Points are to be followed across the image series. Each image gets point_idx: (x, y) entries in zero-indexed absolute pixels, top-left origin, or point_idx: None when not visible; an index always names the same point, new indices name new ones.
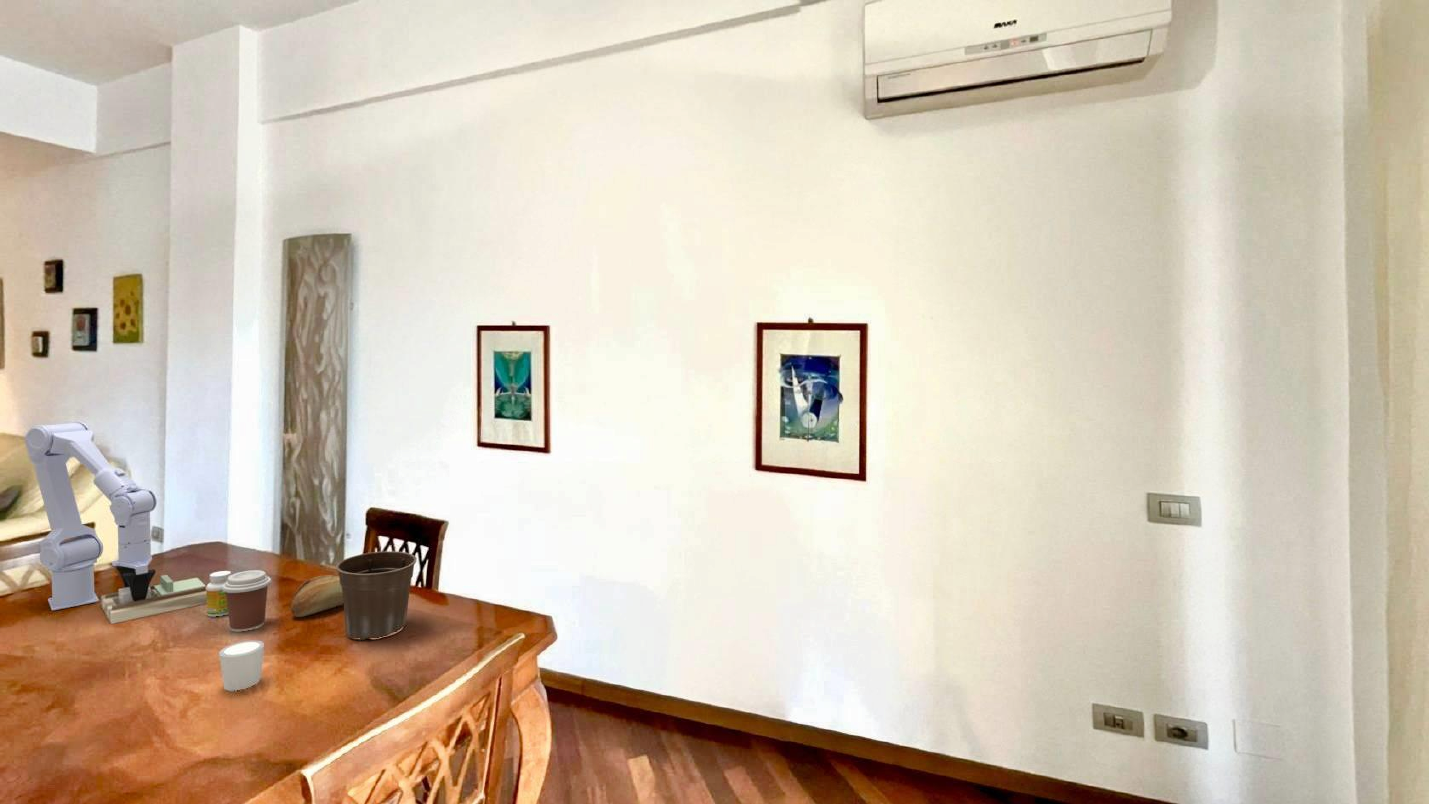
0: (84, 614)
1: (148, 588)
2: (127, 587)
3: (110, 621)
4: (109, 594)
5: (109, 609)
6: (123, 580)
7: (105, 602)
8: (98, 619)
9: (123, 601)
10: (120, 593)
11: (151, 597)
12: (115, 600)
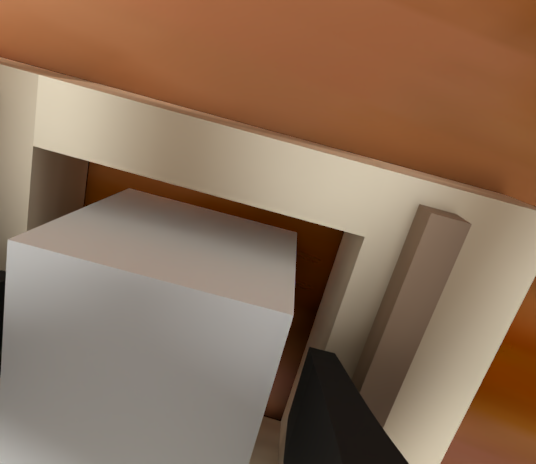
0: (414, 27)
1: (24, 459)
2: (263, 388)
3: (2, 57)
4: (428, 249)
5: (8, 71)
6: (342, 456)
7: (287, 148)
8: (168, 39)
9: (67, 220)
10: (164, 268)
11: (281, 429)
12: (352, 251)
